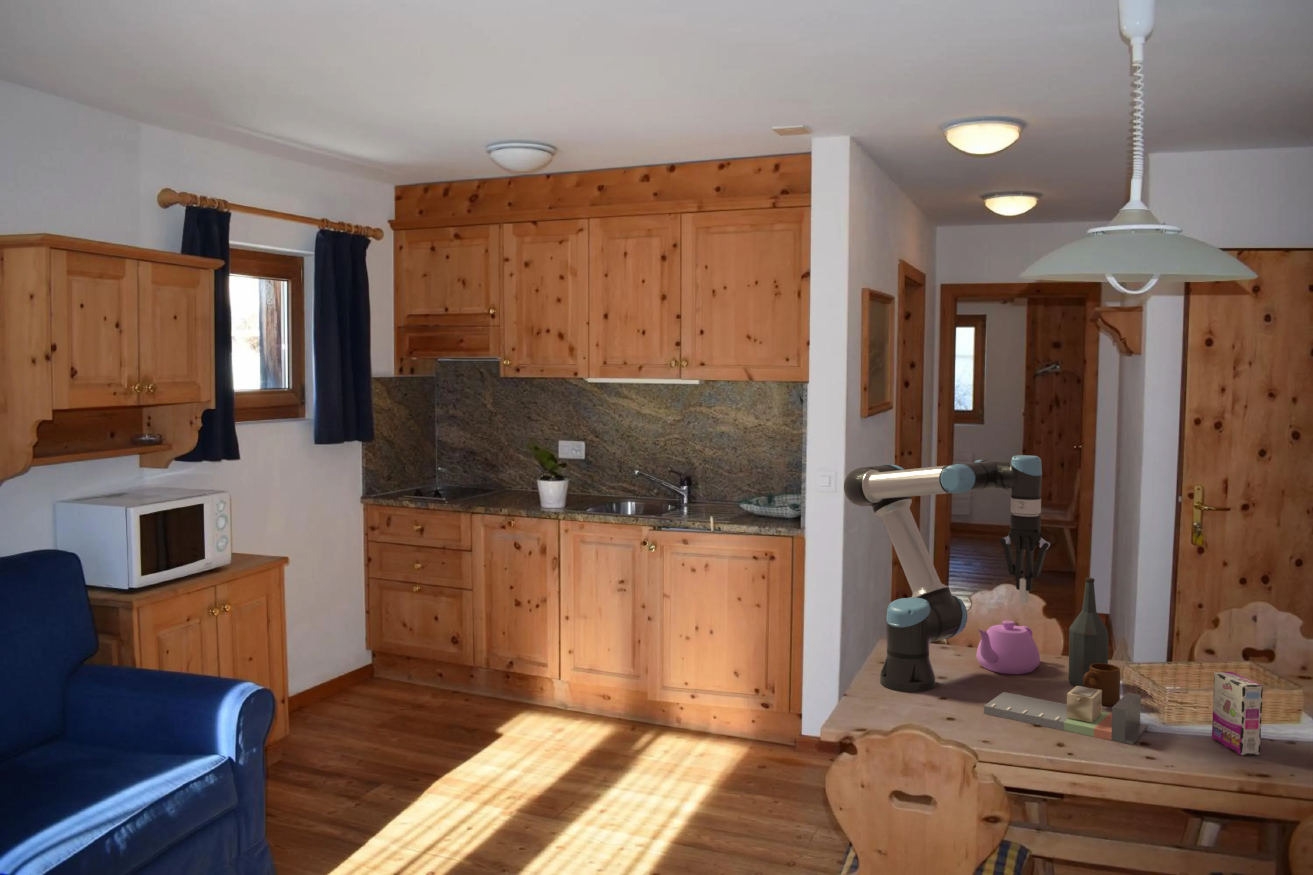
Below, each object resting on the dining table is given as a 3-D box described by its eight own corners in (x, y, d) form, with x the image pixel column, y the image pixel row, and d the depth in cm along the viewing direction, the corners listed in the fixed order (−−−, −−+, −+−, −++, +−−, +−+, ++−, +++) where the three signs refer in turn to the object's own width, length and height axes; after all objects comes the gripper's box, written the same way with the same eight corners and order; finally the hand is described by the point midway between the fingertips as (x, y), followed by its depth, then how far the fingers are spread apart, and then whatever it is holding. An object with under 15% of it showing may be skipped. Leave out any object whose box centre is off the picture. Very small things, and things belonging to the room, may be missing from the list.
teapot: (1006, 653, 317) (1006, 610, 316) (1057, 667, 303) (1058, 621, 302) (953, 667, 303) (954, 622, 302) (1004, 682, 288) (1005, 635, 287)
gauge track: (983, 713, 263) (983, 704, 263) (1003, 699, 274) (1003, 690, 274) (1111, 740, 244) (1111, 730, 244) (1127, 723, 255) (1127, 714, 255)
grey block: (1111, 740, 244) (1112, 707, 243) (1127, 723, 255) (1127, 692, 254) (1132, 744, 241) (1133, 711, 240) (1147, 727, 252) (1148, 695, 251)
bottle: (1090, 676, 293) (1092, 573, 290) (1115, 687, 283) (1118, 580, 281) (1060, 680, 289) (1062, 575, 287) (1084, 691, 280) (1087, 582, 278)
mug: (1096, 711, 264) (1097, 675, 263) (1071, 702, 271) (1071, 668, 270) (1126, 703, 270) (1126, 668, 269) (1100, 695, 277) (1101, 661, 276)
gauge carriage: (1064, 719, 251) (1064, 694, 251) (1076, 708, 259) (1076, 684, 259) (1089, 724, 248) (1090, 699, 247) (1101, 713, 256) (1101, 689, 255)
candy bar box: (1261, 755, 234) (1264, 685, 232) (1241, 756, 233) (1243, 685, 232) (1230, 737, 245) (1232, 670, 244) (1210, 738, 244) (1212, 671, 243)
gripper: (996, 513, 271) (994, 601, 273) (1046, 518, 263) (1044, 608, 265) (1006, 510, 277) (1004, 596, 279) (1055, 514, 269) (1053, 603, 271)
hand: (1023, 602), depth 272 cm, fingers closed
